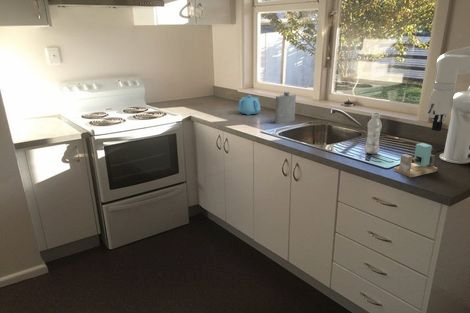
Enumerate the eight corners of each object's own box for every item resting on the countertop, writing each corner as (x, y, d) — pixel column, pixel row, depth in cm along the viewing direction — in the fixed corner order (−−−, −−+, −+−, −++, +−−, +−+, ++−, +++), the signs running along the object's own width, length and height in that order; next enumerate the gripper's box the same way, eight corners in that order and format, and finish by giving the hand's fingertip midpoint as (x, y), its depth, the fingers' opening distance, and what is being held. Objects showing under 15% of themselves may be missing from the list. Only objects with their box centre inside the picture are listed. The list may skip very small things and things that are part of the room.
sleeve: (419, 161, 161) (422, 142, 159) (428, 164, 158) (432, 145, 155) (413, 163, 160) (416, 144, 157) (422, 166, 156) (425, 147, 153)
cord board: (418, 164, 165) (421, 147, 163) (437, 171, 158) (440, 153, 155) (393, 170, 159) (395, 153, 156) (410, 177, 151) (413, 159, 149)
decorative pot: (235, 115, 264) (235, 96, 260) (241, 110, 279) (241, 92, 274) (257, 116, 260) (258, 97, 256) (262, 111, 275) (262, 93, 270)
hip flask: (292, 119, 250) (293, 90, 243) (296, 120, 247) (297, 91, 240) (274, 122, 242) (274, 92, 235) (277, 124, 239) (279, 93, 232)
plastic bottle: (373, 156, 176) (378, 115, 170) (361, 153, 182) (366, 113, 175) (381, 154, 180) (386, 113, 174) (369, 150, 185) (374, 111, 179)
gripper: (447, 84, 157) (439, 126, 163) (423, 86, 151) (416, 130, 157) (464, 87, 151) (455, 130, 156) (440, 89, 144) (432, 134, 150)
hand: (436, 130), depth 157 cm, fingers closed
